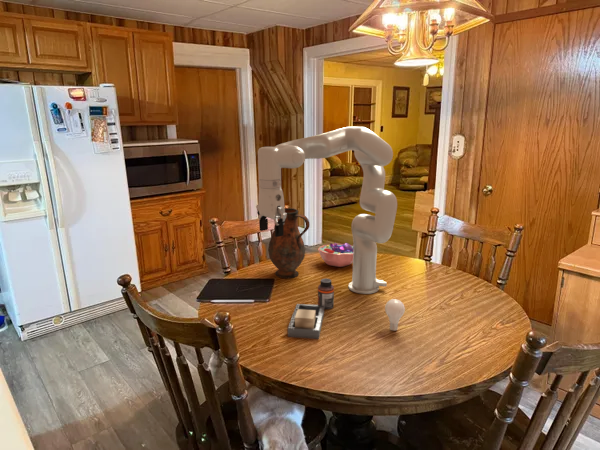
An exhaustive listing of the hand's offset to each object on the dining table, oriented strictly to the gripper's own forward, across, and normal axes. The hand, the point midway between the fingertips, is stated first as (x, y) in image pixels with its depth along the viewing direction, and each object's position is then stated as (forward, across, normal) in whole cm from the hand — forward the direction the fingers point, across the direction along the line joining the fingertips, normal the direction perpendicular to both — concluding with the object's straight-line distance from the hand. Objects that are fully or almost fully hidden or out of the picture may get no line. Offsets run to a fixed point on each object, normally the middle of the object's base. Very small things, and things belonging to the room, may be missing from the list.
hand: (271, 233), depth 141 cm
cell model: (+31, +23, -53) cm, 66 cm away
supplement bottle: (+31, -9, -18) cm, 36 cm away
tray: (+30, -16, -3) cm, 34 cm away
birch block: (+29, -19, 0) cm, 35 cm away
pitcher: (+31, +26, -27) cm, 48 cm away
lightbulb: (+31, -35, -25) cm, 53 cm away
